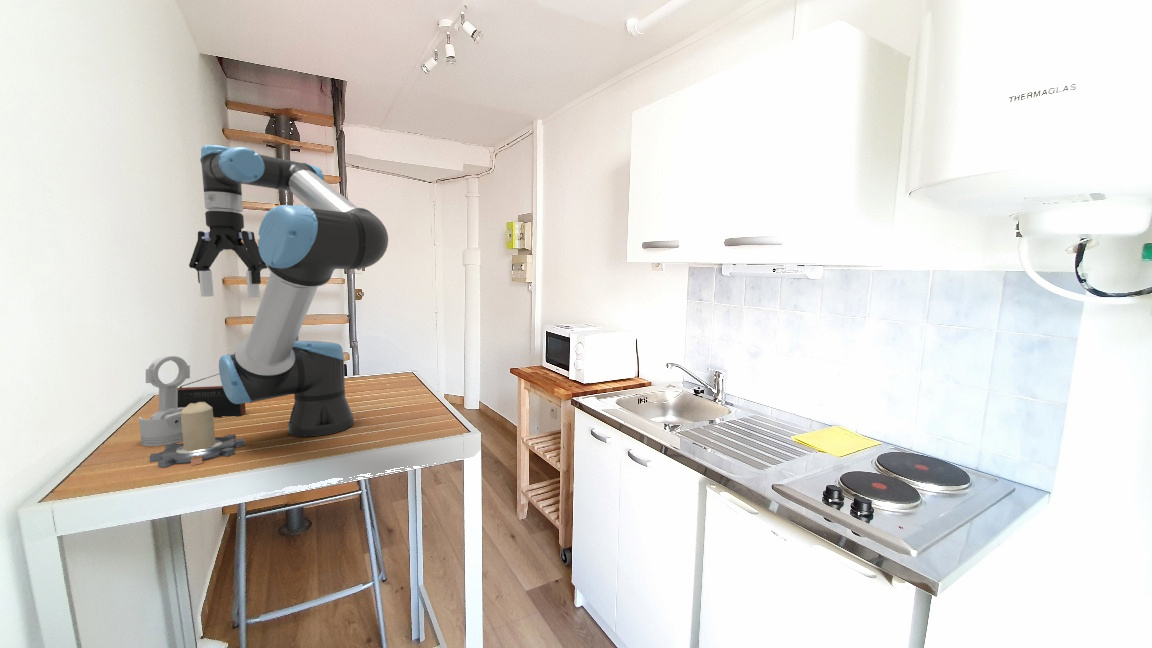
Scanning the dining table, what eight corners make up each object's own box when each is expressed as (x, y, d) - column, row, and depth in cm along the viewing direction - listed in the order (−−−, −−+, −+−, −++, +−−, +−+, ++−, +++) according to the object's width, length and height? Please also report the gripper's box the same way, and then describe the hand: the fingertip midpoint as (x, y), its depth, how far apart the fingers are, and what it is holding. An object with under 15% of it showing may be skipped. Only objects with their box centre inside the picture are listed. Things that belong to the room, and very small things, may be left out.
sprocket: (262, 441, 108) (261, 436, 108) (195, 470, 92) (194, 463, 92) (203, 437, 110) (203, 432, 110) (128, 464, 94) (128, 458, 94)
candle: (197, 451, 98) (193, 407, 97) (177, 449, 99) (173, 406, 98) (221, 442, 103) (218, 400, 102) (202, 440, 104) (198, 399, 103)
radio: (172, 420, 123) (167, 367, 122) (179, 417, 126) (174, 365, 125) (248, 416, 128) (245, 365, 126) (253, 413, 131) (250, 363, 129)
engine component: (129, 444, 106) (163, 447, 104) (121, 359, 104) (155, 361, 102) (178, 429, 116) (210, 432, 114) (172, 352, 114) (204, 353, 112)
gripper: (166, 210, 109) (173, 296, 111) (255, 208, 106) (261, 298, 108) (196, 214, 117) (202, 295, 119) (280, 213, 113) (285, 297, 115)
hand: (230, 297), depth 113 cm, fingers open, 13 cm apart
